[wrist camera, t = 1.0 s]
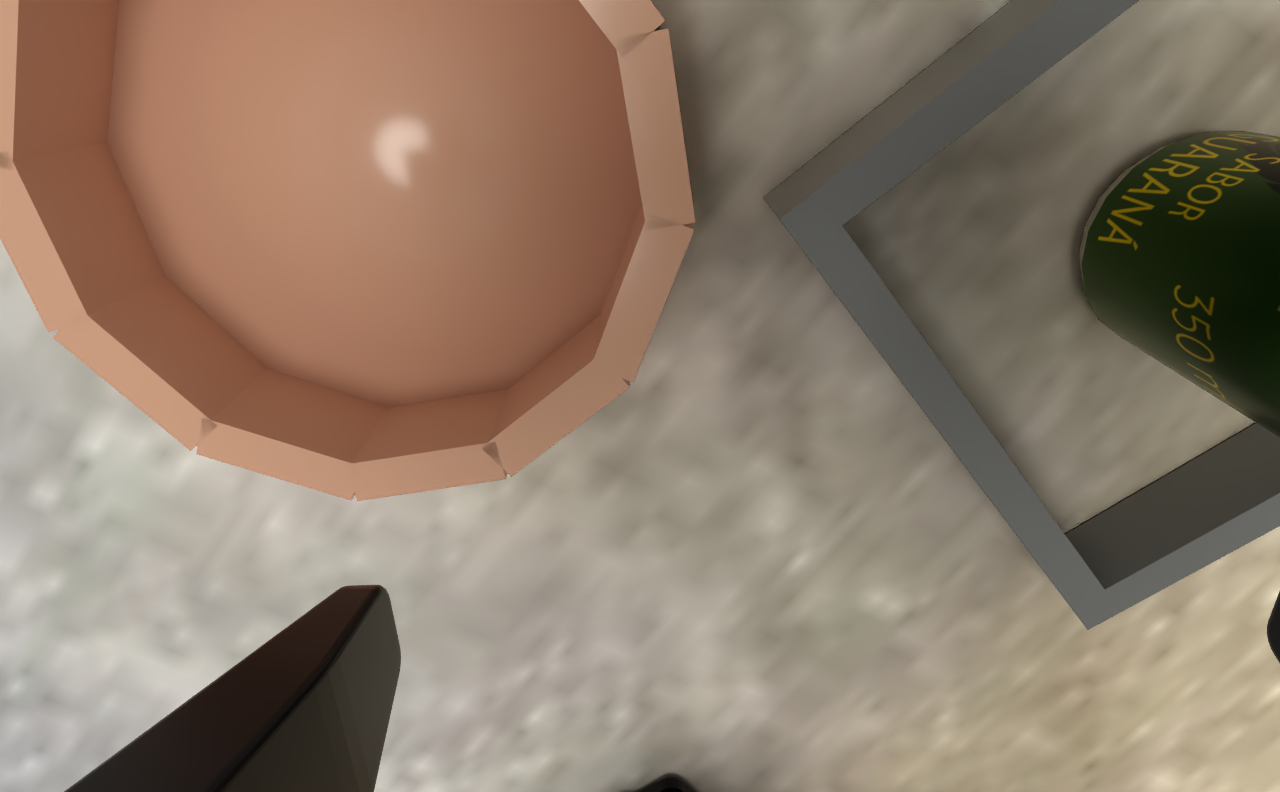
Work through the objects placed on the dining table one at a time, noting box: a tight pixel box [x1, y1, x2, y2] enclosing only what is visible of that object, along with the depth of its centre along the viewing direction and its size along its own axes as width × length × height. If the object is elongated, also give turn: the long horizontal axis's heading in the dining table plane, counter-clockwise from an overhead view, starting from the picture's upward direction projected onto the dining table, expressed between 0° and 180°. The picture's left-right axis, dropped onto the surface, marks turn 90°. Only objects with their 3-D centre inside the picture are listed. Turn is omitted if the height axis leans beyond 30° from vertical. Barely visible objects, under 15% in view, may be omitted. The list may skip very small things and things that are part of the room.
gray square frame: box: [764, 0, 1280, 630], centre depth 19 cm, size 15×15×2 cm
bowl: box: [0, 0, 696, 501], centre depth 17 cm, size 14×14×4 cm
